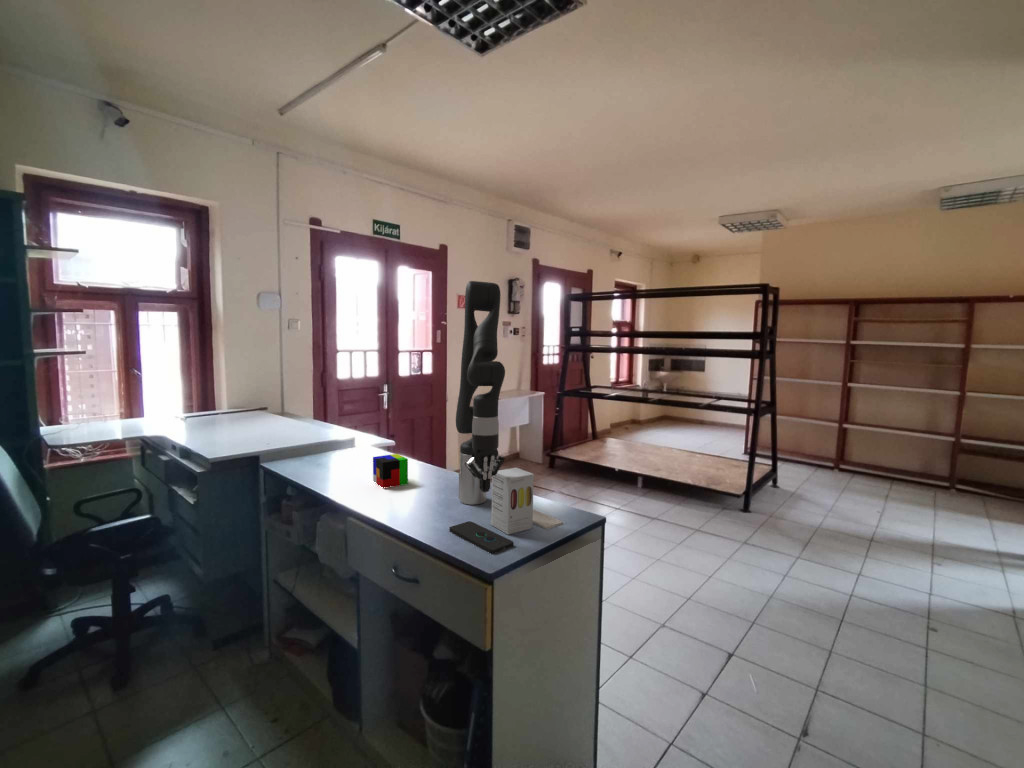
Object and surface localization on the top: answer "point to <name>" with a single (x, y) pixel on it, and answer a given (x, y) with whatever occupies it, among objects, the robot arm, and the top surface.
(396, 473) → the puzzle toy
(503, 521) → the supplement box
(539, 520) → the plain beige rectangular board
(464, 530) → the smart home device
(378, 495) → the top surface
